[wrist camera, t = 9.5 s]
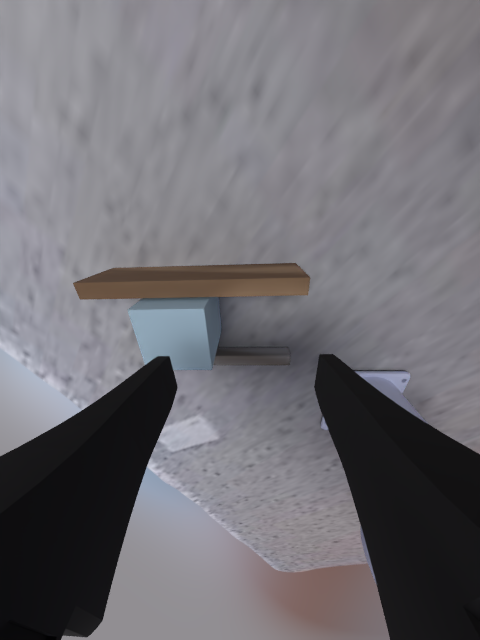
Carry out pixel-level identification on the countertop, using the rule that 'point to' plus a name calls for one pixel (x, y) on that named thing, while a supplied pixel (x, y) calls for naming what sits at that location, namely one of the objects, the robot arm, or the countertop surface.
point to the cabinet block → (178, 330)
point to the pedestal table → (205, 293)
